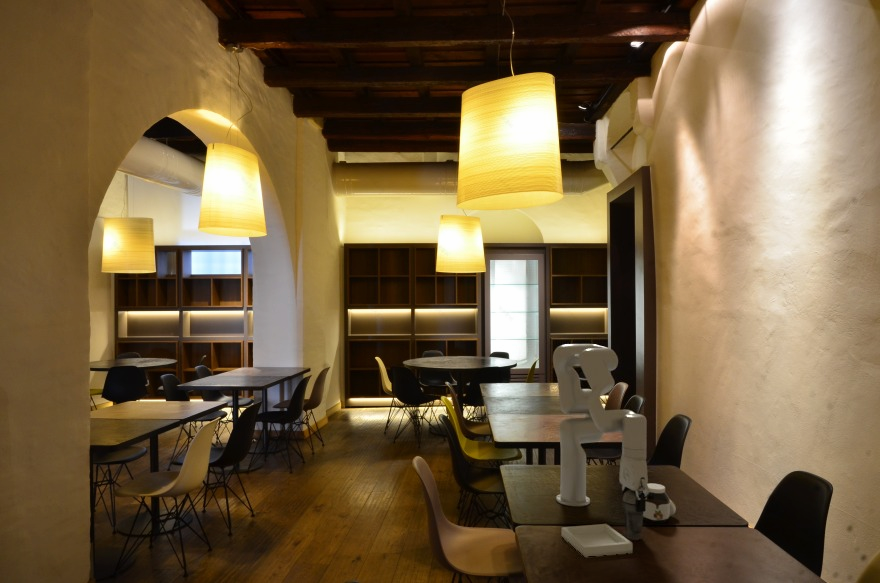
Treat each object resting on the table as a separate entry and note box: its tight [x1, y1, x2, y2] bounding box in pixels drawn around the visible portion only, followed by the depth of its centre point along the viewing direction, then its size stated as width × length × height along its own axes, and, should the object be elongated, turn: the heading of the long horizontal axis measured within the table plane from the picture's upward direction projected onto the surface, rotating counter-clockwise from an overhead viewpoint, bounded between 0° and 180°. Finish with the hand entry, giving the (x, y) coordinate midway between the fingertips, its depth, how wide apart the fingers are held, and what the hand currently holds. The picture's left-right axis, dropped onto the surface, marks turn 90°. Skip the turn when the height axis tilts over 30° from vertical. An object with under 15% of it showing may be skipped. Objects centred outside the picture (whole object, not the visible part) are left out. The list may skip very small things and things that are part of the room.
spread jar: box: [643, 482, 677, 524], centre depth 212 cm, size 12×11×12 cm
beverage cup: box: [621, 489, 644, 541], centre depth 194 cm, size 7×7×20 cm
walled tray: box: [561, 523, 634, 558], centre depth 188 cm, size 16×16×3 cm
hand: (633, 506), depth 194 cm, fingers closed on beverage cup, 7 cm apart
